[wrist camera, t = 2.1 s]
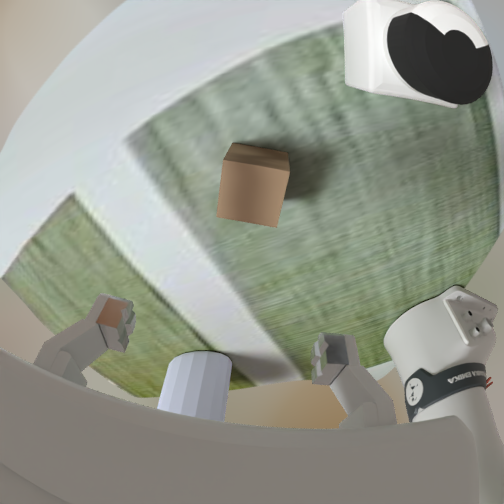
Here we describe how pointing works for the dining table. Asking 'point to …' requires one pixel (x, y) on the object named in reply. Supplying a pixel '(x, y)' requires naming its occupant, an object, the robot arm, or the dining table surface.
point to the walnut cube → (253, 184)
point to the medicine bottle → (416, 51)
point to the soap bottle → (197, 385)
